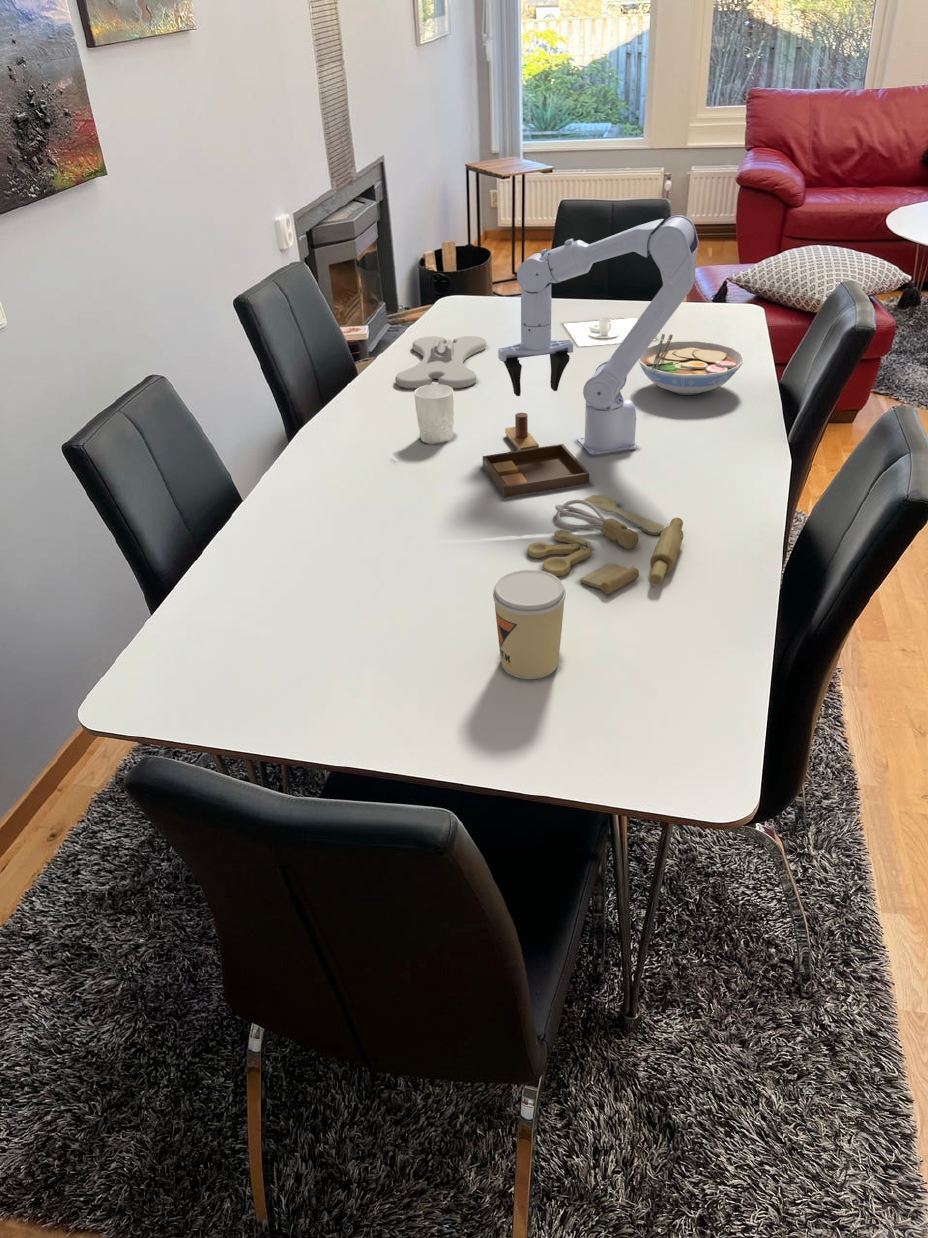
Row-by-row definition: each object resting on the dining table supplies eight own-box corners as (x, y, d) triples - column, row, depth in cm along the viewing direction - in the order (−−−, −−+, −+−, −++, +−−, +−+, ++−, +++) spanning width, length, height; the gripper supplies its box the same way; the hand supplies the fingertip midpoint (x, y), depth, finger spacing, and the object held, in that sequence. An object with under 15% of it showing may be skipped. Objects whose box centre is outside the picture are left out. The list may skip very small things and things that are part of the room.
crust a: (512, 466, 175) (511, 460, 174) (518, 474, 172) (518, 468, 171) (491, 469, 174) (491, 463, 174) (497, 477, 171) (497, 472, 170)
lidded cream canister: (491, 645, 128) (488, 571, 121) (558, 639, 128) (559, 565, 122) (499, 686, 120) (496, 610, 114) (570, 680, 121) (571, 603, 114)
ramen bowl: (734, 414, 192) (739, 375, 188) (625, 405, 199) (627, 368, 194) (744, 373, 211) (749, 338, 207) (645, 367, 218) (647, 333, 214)
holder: (487, 342, 240) (487, 323, 237) (474, 389, 212) (473, 367, 209) (415, 343, 242) (414, 324, 239) (393, 389, 214) (391, 368, 211)
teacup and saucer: (585, 330, 244) (585, 315, 241) (614, 328, 244) (615, 312, 242) (592, 340, 236) (592, 324, 234) (622, 338, 237) (623, 322, 235)
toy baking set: (528, 497, 165) (528, 479, 163) (672, 496, 163) (674, 477, 161) (526, 596, 138) (526, 576, 136) (699, 596, 136) (701, 575, 134)
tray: (562, 455, 179) (562, 443, 178) (589, 485, 168) (589, 473, 166) (482, 468, 176) (482, 455, 175) (504, 499, 165) (504, 487, 163)
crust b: (521, 478, 170) (521, 472, 170) (527, 487, 167) (527, 481, 166) (500, 482, 170) (500, 476, 169) (506, 491, 166) (506, 485, 166)
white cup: (451, 446, 185) (448, 398, 180) (413, 444, 187) (409, 397, 181) (459, 431, 192) (456, 384, 186) (422, 429, 193) (419, 383, 188)
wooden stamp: (522, 435, 188) (522, 404, 184) (539, 455, 180) (539, 422, 176) (505, 438, 187) (504, 406, 184) (520, 458, 179) (520, 425, 175)
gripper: (565, 312, 178) (563, 380, 185) (493, 320, 175) (494, 389, 183) (578, 322, 172) (575, 392, 180) (504, 331, 169) (504, 401, 177)
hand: (535, 391), depth 181 cm, fingers open, 7 cm apart
